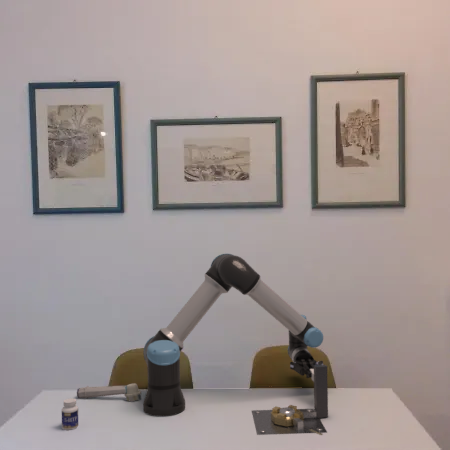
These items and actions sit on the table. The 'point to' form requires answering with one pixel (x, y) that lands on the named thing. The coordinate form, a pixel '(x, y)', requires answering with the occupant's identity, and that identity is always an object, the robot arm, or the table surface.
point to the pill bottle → (69, 414)
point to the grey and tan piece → (319, 401)
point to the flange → (268, 427)
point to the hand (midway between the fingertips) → (315, 378)
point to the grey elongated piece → (111, 391)
